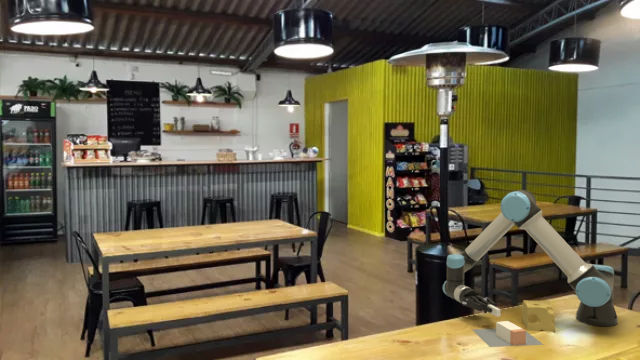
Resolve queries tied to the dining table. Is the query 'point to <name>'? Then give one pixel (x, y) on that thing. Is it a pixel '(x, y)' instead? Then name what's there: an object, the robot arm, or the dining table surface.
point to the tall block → (511, 333)
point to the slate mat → (496, 341)
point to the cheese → (538, 315)
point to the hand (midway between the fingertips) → (498, 313)
